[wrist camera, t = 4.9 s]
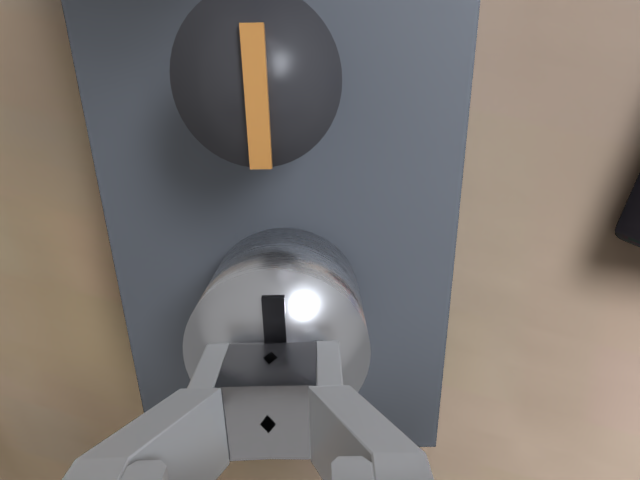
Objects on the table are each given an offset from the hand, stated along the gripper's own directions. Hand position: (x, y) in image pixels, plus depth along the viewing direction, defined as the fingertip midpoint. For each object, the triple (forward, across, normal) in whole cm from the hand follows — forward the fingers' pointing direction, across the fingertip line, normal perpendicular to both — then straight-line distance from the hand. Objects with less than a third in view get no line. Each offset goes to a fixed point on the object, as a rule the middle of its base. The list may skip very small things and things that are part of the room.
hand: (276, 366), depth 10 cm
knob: (+7, 0, 0) cm, 7 cm away
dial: (+3, 0, -6) cm, 7 cm away
